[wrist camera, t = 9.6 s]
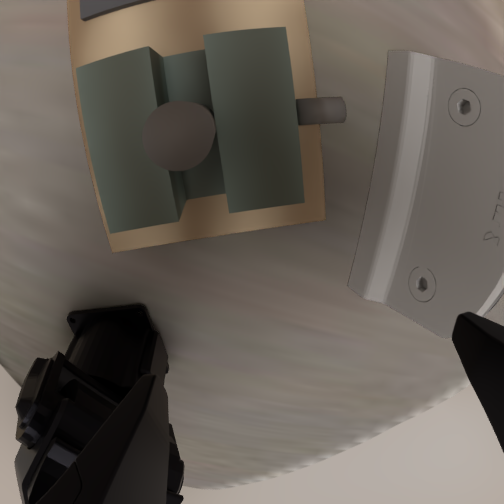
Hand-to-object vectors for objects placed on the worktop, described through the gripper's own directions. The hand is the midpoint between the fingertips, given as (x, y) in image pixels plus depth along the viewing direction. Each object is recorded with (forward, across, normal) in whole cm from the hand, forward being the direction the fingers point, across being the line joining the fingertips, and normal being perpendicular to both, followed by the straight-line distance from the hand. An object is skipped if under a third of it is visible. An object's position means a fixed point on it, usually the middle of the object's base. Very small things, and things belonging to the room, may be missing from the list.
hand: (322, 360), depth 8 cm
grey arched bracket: (+12, -11, -1) cm, 16 cm away
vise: (+12, +3, -12) cm, 17 cm away
